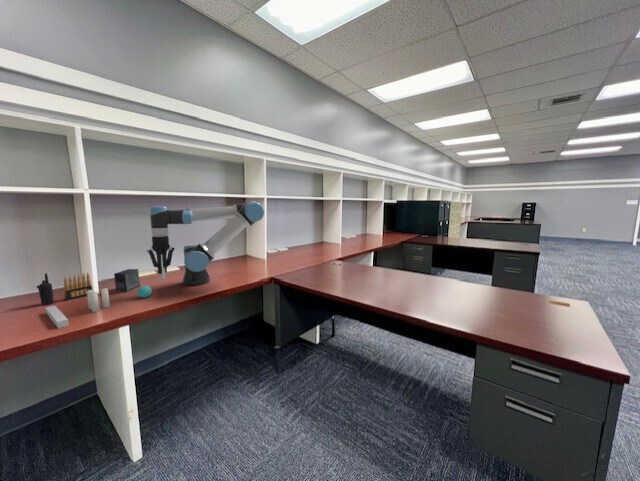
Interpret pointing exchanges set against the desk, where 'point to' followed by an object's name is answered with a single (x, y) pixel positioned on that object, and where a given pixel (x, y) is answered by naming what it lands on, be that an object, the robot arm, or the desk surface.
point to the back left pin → (94, 302)
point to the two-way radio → (46, 291)
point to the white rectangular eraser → (57, 316)
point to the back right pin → (89, 298)
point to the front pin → (105, 297)
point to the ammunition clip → (77, 287)
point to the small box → (127, 280)
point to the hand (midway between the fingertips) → (163, 279)
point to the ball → (144, 291)
